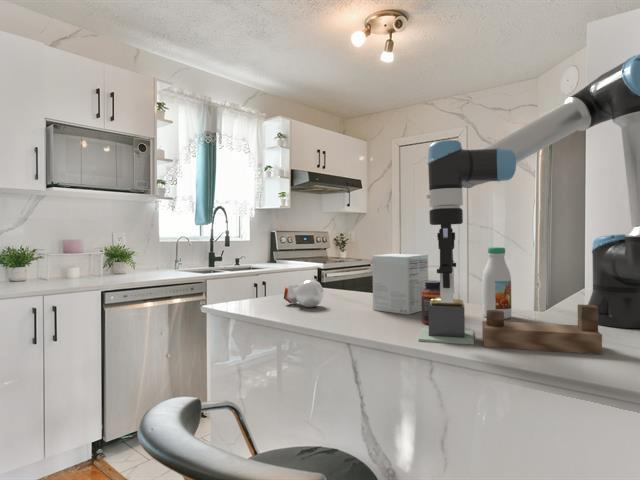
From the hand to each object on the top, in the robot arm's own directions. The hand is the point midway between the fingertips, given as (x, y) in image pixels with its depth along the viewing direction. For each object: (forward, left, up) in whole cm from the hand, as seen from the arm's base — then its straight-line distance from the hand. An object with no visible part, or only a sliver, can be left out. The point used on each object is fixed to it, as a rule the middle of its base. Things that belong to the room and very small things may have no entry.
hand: (447, 297), depth 101 cm
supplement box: (+15, -32, -10) cm, 37 cm away
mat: (0, 0, -9) cm, 9 cm away
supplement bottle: (+4, -14, -9) cm, 17 cm away
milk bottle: (-13, -27, -9) cm, 31 cm away
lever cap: (0, 0, -9) cm, 9 cm away
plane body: (-19, +3, -9) cm, 21 cm away
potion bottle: (+48, -30, -10) cm, 57 cm away
